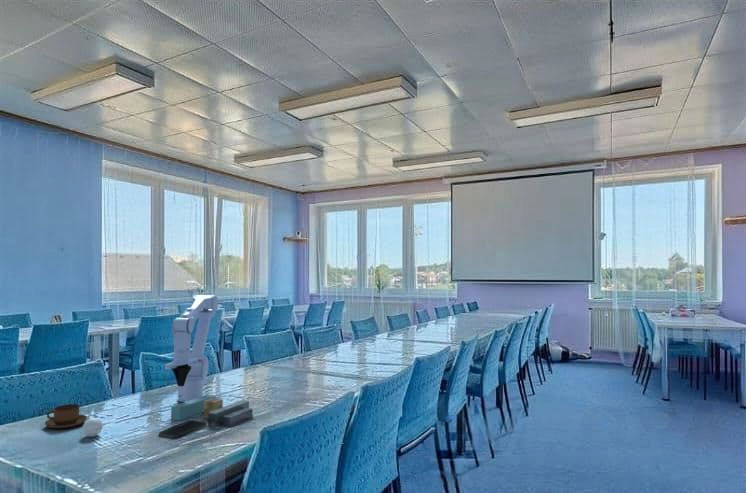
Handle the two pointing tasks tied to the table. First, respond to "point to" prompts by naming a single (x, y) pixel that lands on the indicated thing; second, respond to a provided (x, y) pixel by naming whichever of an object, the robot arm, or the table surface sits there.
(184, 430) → the phone
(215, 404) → the oak block
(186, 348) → the robot arm
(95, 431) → the white rounded piece
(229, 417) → the vise
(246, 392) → the table surface
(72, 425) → the cup and saucer
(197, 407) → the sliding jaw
